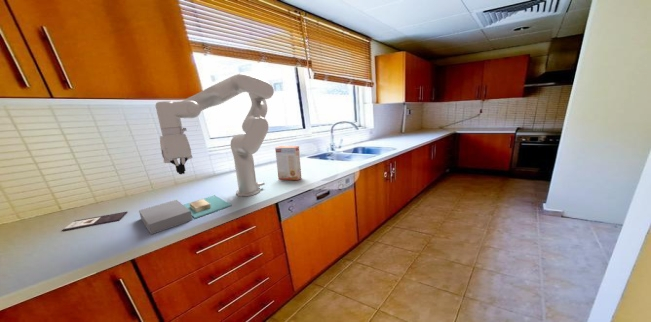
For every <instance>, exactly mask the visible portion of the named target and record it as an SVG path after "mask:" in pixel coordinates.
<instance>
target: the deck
mask: <svg viewBox="0 0 651 322" xmlns="http://www.w3.org/2000/svg"><path fill="white" fill-rule="evenodd" d="M138 213H139V215H140V220H141V221H142V223H143V224H144V226H145V227H146V229H147V231H148V233H150V235H154V234H156V232H157V233H159V231H160V232H162V231H165V230H167V229H170V227H171V228H173V226H174V227H176V226H179V225H181V224H184V223H188V222H190V221H193V217H192V215H191V211H190V210H189V209H188V208H186V207H185V206H184V204H183V203H181V201H179V200H178V199H173V200H171V201H167V202H165V203H159V204H157V205H153V206H150V207H147V208H143V209H139V210H138Z"/></svg>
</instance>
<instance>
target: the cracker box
mask: <svg viewBox="0 0 651 322" xmlns="http://www.w3.org/2000/svg"><path fill="white" fill-rule="evenodd" d="M274 149H275V159H276V168H277V179H278V180H284V181H285V180H288V181H299V180H300V179H302V168H301V156H300V146H296V145H295V146H293V145H282V146H281V145H279V146H276V147H275V148H274Z"/></svg>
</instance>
